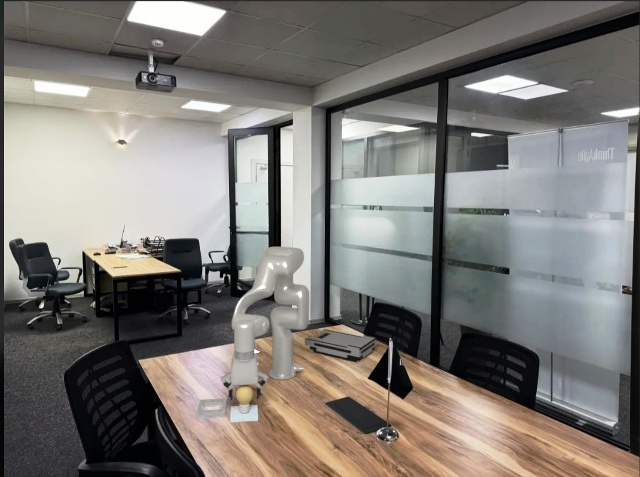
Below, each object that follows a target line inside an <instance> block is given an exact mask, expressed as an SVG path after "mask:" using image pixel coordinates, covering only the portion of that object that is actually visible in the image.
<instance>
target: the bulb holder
mask: <svg viewBox="0 0 640 477" xmlns="http://www.w3.org/2000/svg"><path fill="white" fill-rule="evenodd" d="M212 407H213V408H215V407H221V409H206V410H205V409H204V408H212ZM203 409H204V410H203ZM226 410H227V398H226V397H225V398H210V399H208V398H205V399H199V402H198V408H197V412H196V420H201V419H203V420H204V419H217V418H226Z"/></svg>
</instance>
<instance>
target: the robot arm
mask: <svg viewBox="0 0 640 477" xmlns="http://www.w3.org/2000/svg"><path fill="white" fill-rule="evenodd" d="M304 261H305V254H304V251H303V250H302V249H301V248H299V247H287V246H270V247H268V248H266V249H265V252H264V256H263V257H261V259H260V261H259V264H258V268H257V271H256V276H255V278H254V282H253V285H252V287H251V289H249V290H248V291H247V292H246V293H245V294H243V295H242V296H241V297H240V299H239V300H238V302H237V304H236V305H235V308H234V310H233V315H232V318H231V329H232V330H233V333H234V335H233V338H234V339H233V340H234V341H233V342H234V343H233V345H234V346H233V350H234V351H233V356H232V358H231V364H230V372H228V373H226V374H224V375H222V376H221V377H220V382H221V383H222V384H223V386H224V387H225V388H226V389H227V391H228V398H230V401H233V399H234V394H233V390H234V389H233V388H234V387H235V386H243V385H247V386H249V385H255V387H256V399H257V400H259V399H260V397H259V396H261V392H262V391H261V389H262V387H263V386H264V385H265V384H266V382H267V380H268V379H269V377H270V378H272V379H274V380H281V381H284V380H290V379H293V378H294V377H296V375H297V372H298V371H299V372H302V371H304V366H303V365H302V366H301V365H300V364H297V365H296V364H294V335H293V333H292V330H295V331H303V330H305V329H307V328H308V326H309V322H310V290H309V288H308V287H307V285H304V284H297V283H294V274H295V273H296V272H297V271H298V270H299V269H300V268H301V267H302V266H303V264H304ZM272 295H274V296H273V297H274V301H275V302H276V304H280V305H288V306H276V307H274V308H273V309H272V310H271V312H270V320H269V318H268V317H266V316H264V315H260V314H259V315H258V314H251V313H246V311H247V310H248V308H250V306H251V305H253V304H254V303H256V302H258V301H260V300H264V299H266V298H269V297H271V296H272ZM289 306H296V307H289ZM270 323H271V330H272V332H271V333H272V344H271V345H272V347H271V348H272V350H271V351H272V352H271V353H272V354H271V356H272V357H271V358H272V359H271V361H272V363H271V369H270V370H269V371H268V373H264V371H263V372H262V371H260V370H259V361H258V356H257V355H259V352H260V350H259V349H256V337H257V338H258V337H260V336H263V335H265V334H266V333H267V332H268V330H269V328H270ZM260 377H262V379H261V380H259V378H260ZM227 379H230V382H228V381H227Z"/></svg>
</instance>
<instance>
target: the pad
mask: <svg viewBox="0 0 640 477" xmlns="http://www.w3.org/2000/svg"><path fill="white" fill-rule="evenodd" d="M249 406H250V408H249V409H250V410H249V412H248V413H241V412H240V411H239V409H240V408H239V407H240V406H239V405H235V406H234V405H233V406H230V418H229V423H242V422H257V421H259V409H258V404H250V405H249Z"/></svg>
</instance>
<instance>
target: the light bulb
mask: <svg viewBox="0 0 640 477" xmlns="http://www.w3.org/2000/svg"><path fill="white" fill-rule="evenodd" d="M253 397H254V390H253V388H252V387H251V386H249V385H239V386H238V388H237V390H236V391H235V398H236V400H237V401H238V403H239V405H238V406H240V407H239V408H240V409H239V411H240V412H241V413H248V412H249V410H250V409H249V408H250V406H249V405H251V404H250V402H251V401H252V399H253Z"/></svg>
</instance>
